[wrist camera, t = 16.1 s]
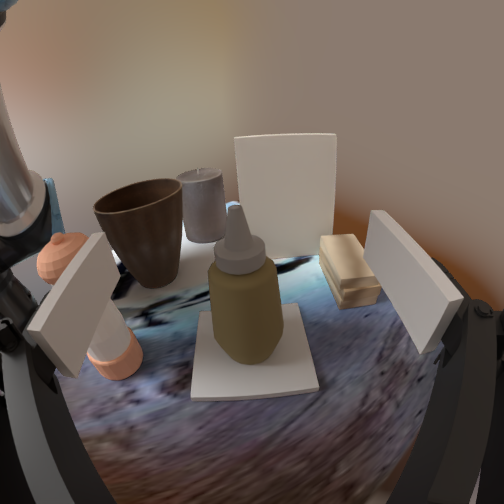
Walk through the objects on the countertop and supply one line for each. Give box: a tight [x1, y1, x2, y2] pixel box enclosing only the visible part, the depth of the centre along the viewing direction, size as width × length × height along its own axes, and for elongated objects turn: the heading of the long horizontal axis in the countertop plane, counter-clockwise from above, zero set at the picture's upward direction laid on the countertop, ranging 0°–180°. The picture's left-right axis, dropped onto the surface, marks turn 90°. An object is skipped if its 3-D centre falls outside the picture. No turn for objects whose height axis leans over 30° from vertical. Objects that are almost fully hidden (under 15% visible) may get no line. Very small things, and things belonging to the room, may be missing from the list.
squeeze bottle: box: [208, 205, 284, 365], centre depth 27 cm, size 8×8×18 cm
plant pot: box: [93, 179, 183, 288], centre depth 43 cm, size 15×15×16 cm
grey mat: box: [191, 303, 319, 401], centre depth 32 cm, size 14×14×1 cm
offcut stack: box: [319, 234, 382, 310], centre depth 41 cm, size 7×13×5 cm, turn 3°
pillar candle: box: [176, 168, 227, 243], centre depth 56 cm, size 10×10×15 cm
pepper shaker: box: [37, 232, 143, 380], centre depth 26 cm, size 7×7×19 cm
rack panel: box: [234, 133, 337, 259], centre depth 45 cm, size 16×2×22 cm, turn 93°
